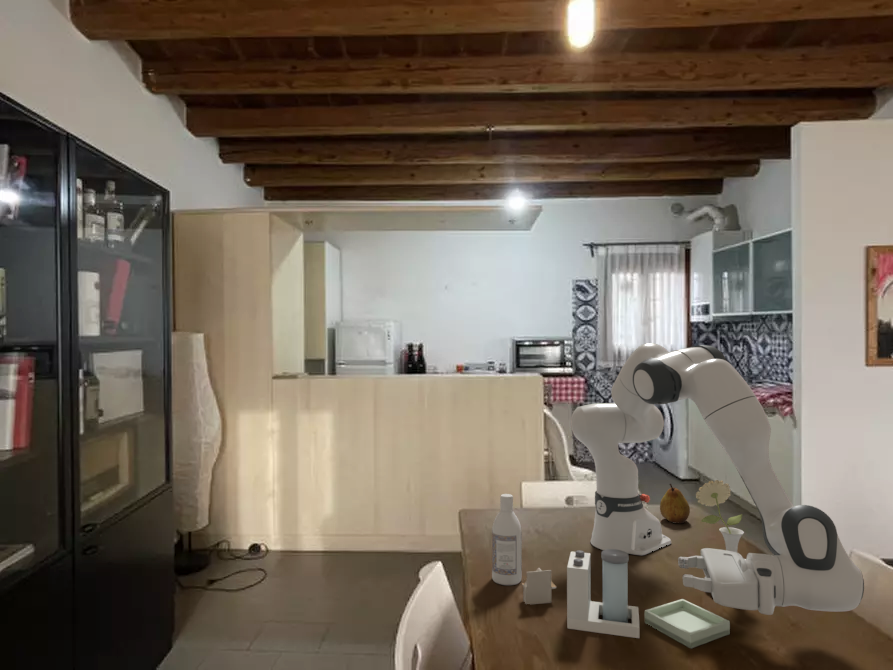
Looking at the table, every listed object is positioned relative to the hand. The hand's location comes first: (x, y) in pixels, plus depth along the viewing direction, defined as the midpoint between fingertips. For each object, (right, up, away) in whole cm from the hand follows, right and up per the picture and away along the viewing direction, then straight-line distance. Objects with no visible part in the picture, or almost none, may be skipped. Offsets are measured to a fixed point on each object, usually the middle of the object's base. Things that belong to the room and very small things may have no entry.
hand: (680, 570), depth 114 cm
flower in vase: (+18, -12, +19) cm, 29 cm away
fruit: (+26, -12, +69) cm, 75 cm away
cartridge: (-12, -12, +4) cm, 17 cm away
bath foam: (-31, -12, +25) cm, 42 cm away
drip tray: (+2, -12, +2) cm, 12 cm away
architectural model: (-26, -13, +14) cm, 32 cm away
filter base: (-14, -12, +4) cm, 19 cm away
